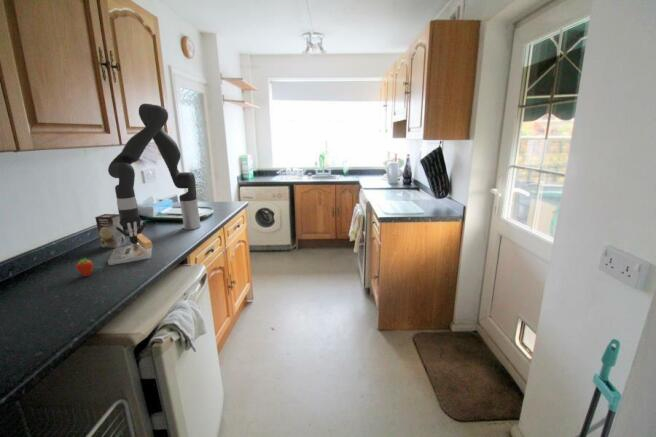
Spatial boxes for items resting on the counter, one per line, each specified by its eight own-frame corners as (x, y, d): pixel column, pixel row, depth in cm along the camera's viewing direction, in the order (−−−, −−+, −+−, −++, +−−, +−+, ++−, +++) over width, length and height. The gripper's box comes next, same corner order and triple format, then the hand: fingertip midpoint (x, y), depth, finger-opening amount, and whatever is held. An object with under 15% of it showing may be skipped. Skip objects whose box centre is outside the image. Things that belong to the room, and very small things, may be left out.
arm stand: (130, 244, 160) (128, 236, 159) (141, 242, 162) (140, 234, 161) (129, 247, 155) (127, 239, 154) (140, 245, 158) (139, 237, 156)
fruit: (76, 279, 122) (71, 260, 120) (83, 273, 127) (79, 255, 125) (91, 277, 123) (87, 259, 121) (98, 272, 128) (93, 254, 126)
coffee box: (101, 247, 156) (93, 217, 152) (110, 243, 162) (104, 213, 158) (117, 247, 155) (111, 217, 151) (127, 243, 161) (120, 213, 157)
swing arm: (128, 235, 157) (127, 230, 156) (136, 234, 160) (135, 228, 159) (144, 249, 138) (143, 243, 137) (153, 247, 141) (152, 241, 140)
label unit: (115, 251, 150) (114, 247, 149) (152, 245, 157) (151, 241, 156) (108, 265, 135) (107, 260, 134) (150, 258, 141) (149, 253, 141)
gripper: (141, 203, 146) (147, 238, 150) (108, 208, 137) (115, 245, 141) (146, 206, 141) (152, 241, 145) (112, 211, 132) (120, 249, 136)
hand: (134, 243), depth 143 cm, fingers closed
